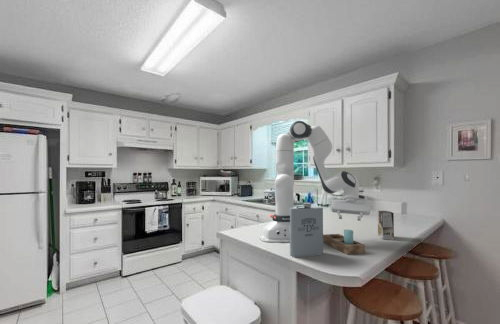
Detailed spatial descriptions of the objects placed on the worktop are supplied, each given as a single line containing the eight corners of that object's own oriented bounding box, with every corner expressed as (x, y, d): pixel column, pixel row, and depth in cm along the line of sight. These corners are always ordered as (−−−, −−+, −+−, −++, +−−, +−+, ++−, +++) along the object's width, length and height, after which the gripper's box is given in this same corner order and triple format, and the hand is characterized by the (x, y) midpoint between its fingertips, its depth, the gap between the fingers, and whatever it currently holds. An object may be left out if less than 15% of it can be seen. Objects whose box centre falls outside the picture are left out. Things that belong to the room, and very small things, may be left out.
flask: (293, 258, 108) (293, 203, 109) (288, 254, 112) (288, 202, 113) (325, 254, 113) (325, 202, 114) (320, 251, 117) (319, 201, 119)
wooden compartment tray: (347, 254, 113) (347, 246, 113) (323, 241, 134) (323, 234, 134) (364, 253, 115) (364, 245, 115) (338, 240, 137) (338, 233, 137)
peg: (347, 252, 117) (347, 231, 117) (342, 249, 121) (342, 229, 122) (355, 251, 118) (355, 231, 118) (349, 248, 122) (349, 229, 122)
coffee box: (394, 240, 139) (394, 212, 140) (382, 239, 140) (382, 212, 141) (388, 236, 148) (388, 210, 149) (377, 235, 149) (377, 210, 150)
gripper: (331, 194, 139) (328, 213, 130) (370, 196, 129) (370, 217, 120) (332, 201, 143) (330, 220, 133) (370, 204, 133) (370, 224, 124)
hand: (349, 219), depth 127 cm, fingers open, 8 cm apart
